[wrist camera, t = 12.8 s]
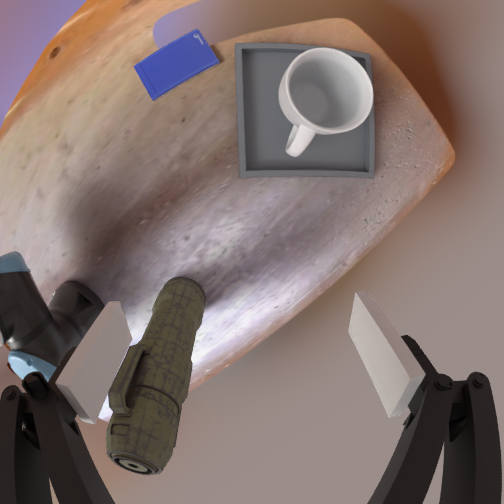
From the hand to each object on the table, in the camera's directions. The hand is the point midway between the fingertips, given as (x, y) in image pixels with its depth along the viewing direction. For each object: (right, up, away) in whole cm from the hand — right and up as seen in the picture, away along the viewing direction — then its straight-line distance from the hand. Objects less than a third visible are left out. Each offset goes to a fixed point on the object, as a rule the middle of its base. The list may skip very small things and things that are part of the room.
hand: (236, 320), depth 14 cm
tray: (+10, +27, +25) cm, 38 cm away
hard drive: (-12, +35, +22) cm, 43 cm away
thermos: (-12, -5, +37) cm, 39 cm away
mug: (+9, +26, +24) cm, 37 cm away
